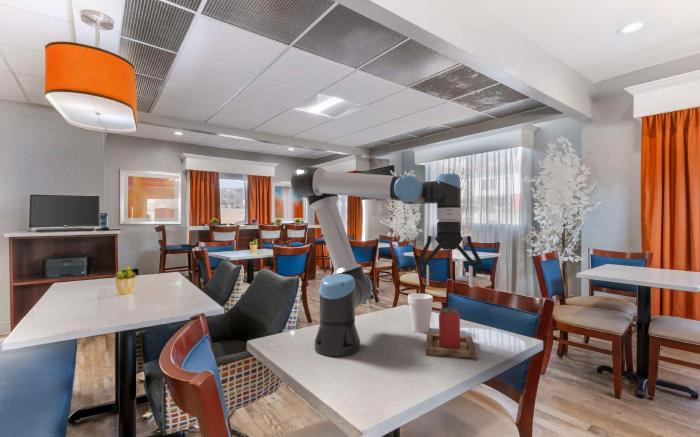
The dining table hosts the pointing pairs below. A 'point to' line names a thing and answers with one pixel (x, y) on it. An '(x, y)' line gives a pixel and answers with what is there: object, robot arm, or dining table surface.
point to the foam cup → (420, 311)
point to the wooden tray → (463, 352)
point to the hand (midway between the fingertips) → (449, 285)
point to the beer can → (449, 328)
